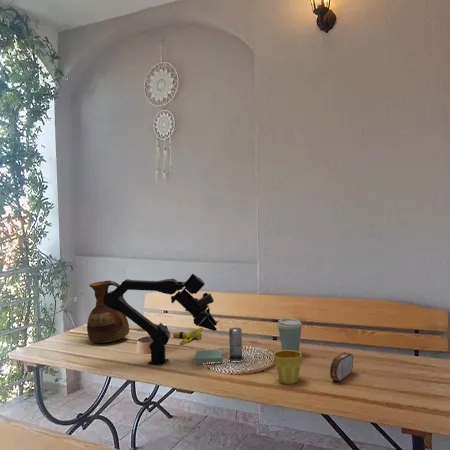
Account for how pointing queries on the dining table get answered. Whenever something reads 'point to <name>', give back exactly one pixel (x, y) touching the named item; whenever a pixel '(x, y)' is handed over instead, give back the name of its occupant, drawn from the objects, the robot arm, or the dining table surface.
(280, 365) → the plant pot
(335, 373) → the tin
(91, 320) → the ceramic pitcher
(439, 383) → the dining table surface
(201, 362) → the green square slab
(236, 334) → the cylinder
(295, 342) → the disposable coffee cup
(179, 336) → the sprinkler
